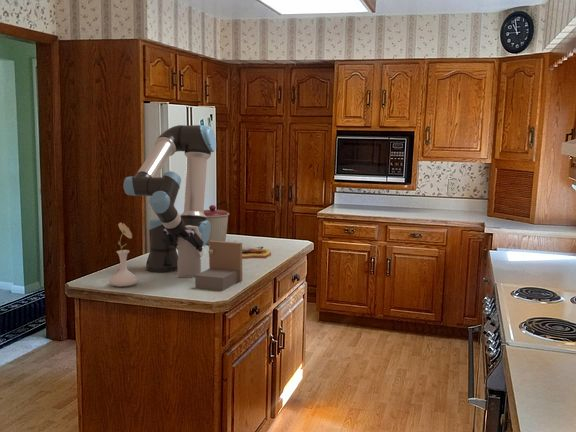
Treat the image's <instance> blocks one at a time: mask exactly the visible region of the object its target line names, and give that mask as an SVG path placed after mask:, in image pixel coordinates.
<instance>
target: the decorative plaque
mask: <svg viewBox="0 0 576 432" xmlns="http://www.w3.org/2000/svg"><path fill="white" fill-rule="evenodd" d="M232 242H238V240H233V241H232ZM241 243H242V260H243V259H244V260H248V259H267V258H269V257H270V256H272V252H271V251H270V249H269V248H264V246H258V247H256V246H253V245H251V244H247V243H244V242H241Z"/></svg>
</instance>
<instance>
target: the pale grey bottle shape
mask: <svg viewBox="0 0 576 432" xmlns="http://www.w3.org/2000/svg"><path fill="white" fill-rule="evenodd" d="M185 227H186V228H187V229H188V230H192V229H194V230H195V233H196V234H197V235H198V236H199V237H200V239H201V233H200V232H199V229H198V226H191V225H186V226H185ZM177 244H178V245H177V246H178V250H177V254H178V261H177V268H178V270H177V278H183V279H184V278H188V279H189V278H195V275H197V274H199V273H201V272H202V259H201V257H200V256H199V255H198V253H197V252H196V250H195V247H194V246H193V245H192V244H191V243H190V242H188V241H187V240H184V239H183V238H182V237H178V240H177Z"/></svg>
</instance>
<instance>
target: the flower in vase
mask: <svg viewBox="0 0 576 432" xmlns="http://www.w3.org/2000/svg"><path fill="white" fill-rule="evenodd" d="M117 225H118V228H119V231H121V235H120V239H119V240H118V241H117V242H118V243H117V245H119V246H120V250H117V251H115V252H116V253H117V254H118V258H119V262H120V263H119V266H120V267H119V270H118V271H117V272H116V273H115V274H114V275H112V277H110V278H109V281H108V284H109V285H111V286H114V287H123V286H124V287H131V286H133V285H136V284H138V282H139V278H138V276H136V275H135V274H134V273H132V272H131V271H130V270H128V268H127V259H128V254H129V253H130V250H129V249H123V248H124V247H125V246H127V245H128V244H127V243H125V244H123V245H122V243H121V240H122V238H123V235H124V236H125V237H127V238H128V239H130V240H131V239H132V238H133V233H132V232H131V230H130V228H129V227H128V226H127V225H126V224H125V223H122V222H119V223H118V224H117Z"/></svg>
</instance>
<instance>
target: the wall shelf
mask: <svg viewBox="0 0 576 432" xmlns="http://www.w3.org/2000/svg"><path fill="white" fill-rule="evenodd" d="M242 243H243V242H238V241H237V242H233V241H225V242H224V241H209V245H208V248H209V249H208V257H209V258H208V260H209V262H208V263H209V266H208V267H209V268H208V269H206V270H204V271H201V273H199V274H197V275H195V277H194V278H195V288H197V289H203V290H204V289H205V290H213V291H225V290H226V289H228V288H229V289H230V288H231V287H232V286H234V285H236V284H237V283H241V282H243V259H242Z"/></svg>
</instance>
